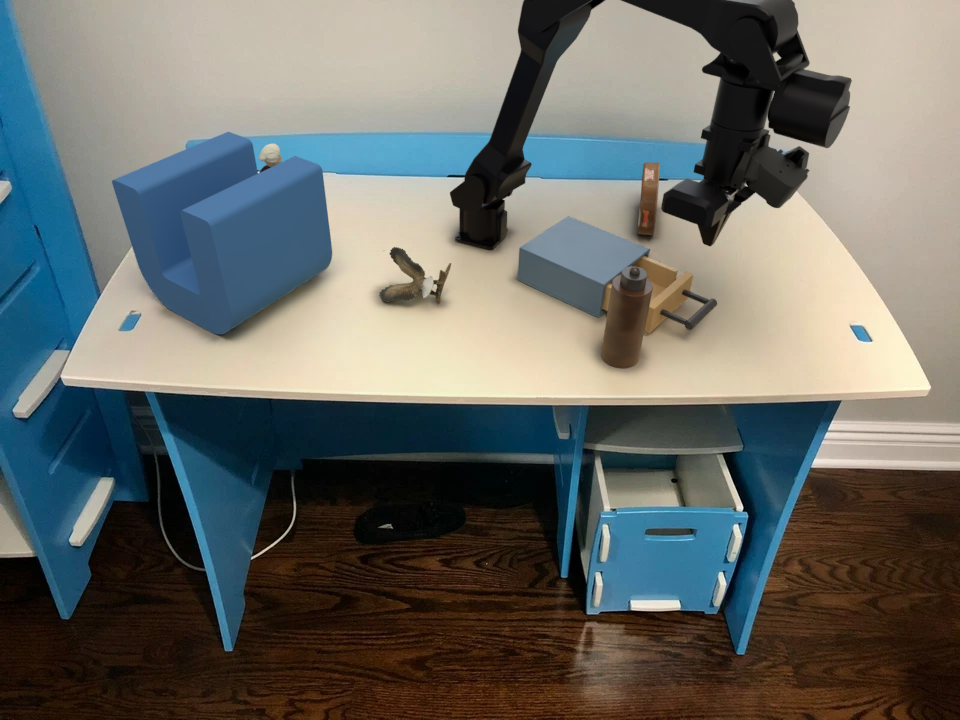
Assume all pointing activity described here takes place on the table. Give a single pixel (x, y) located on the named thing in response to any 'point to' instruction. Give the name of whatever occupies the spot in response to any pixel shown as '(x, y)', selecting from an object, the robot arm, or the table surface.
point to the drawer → (667, 295)
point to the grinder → (626, 317)
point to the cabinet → (576, 263)
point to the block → (225, 229)
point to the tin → (648, 198)
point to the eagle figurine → (418, 283)
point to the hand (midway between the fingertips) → (708, 244)
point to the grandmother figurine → (270, 156)
